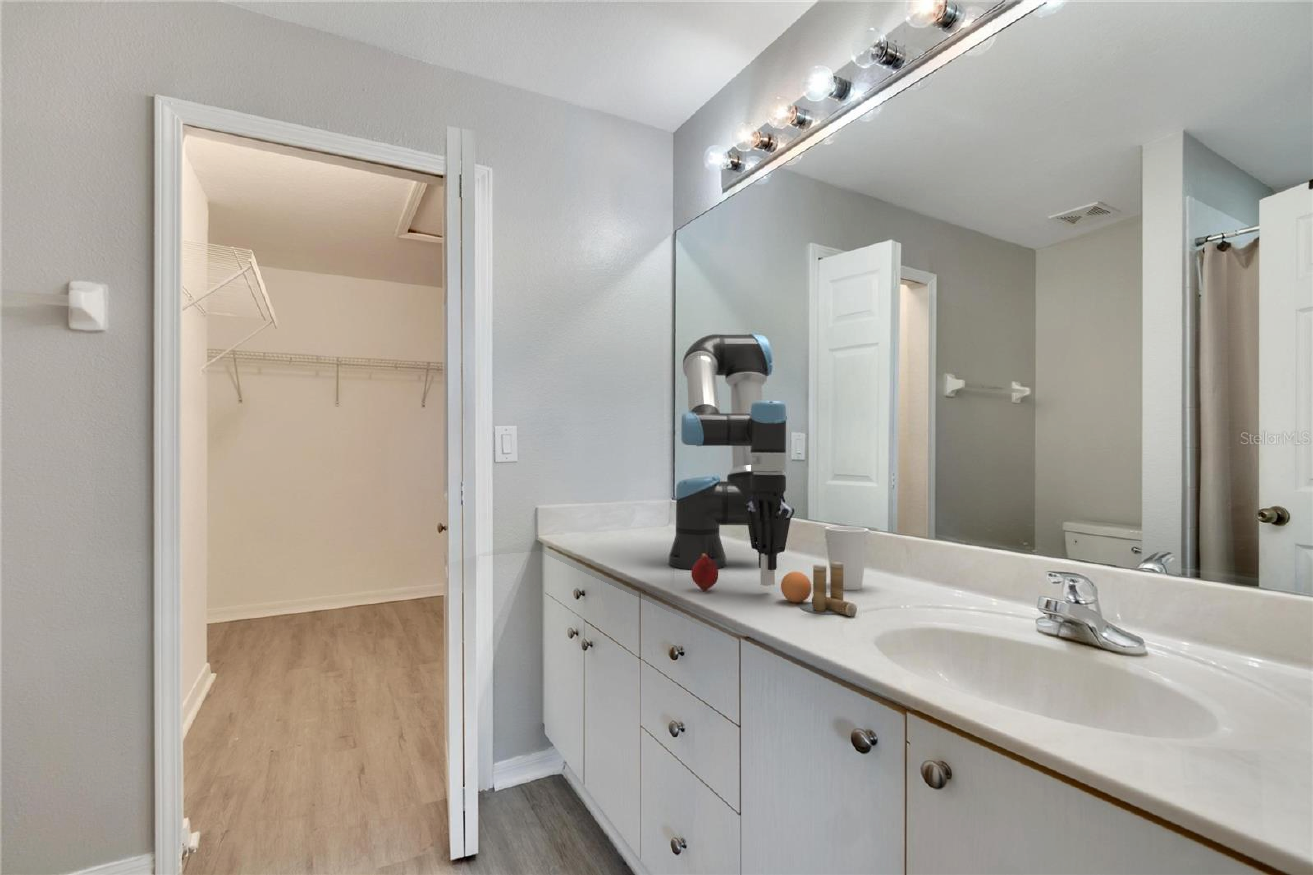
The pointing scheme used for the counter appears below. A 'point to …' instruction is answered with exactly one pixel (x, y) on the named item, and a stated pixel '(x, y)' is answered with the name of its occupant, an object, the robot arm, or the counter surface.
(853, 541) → the foam cup
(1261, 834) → the counter surface
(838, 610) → the pin front
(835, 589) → the pin
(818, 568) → the pin
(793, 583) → the ball
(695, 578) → the onion
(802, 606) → the pin spot
